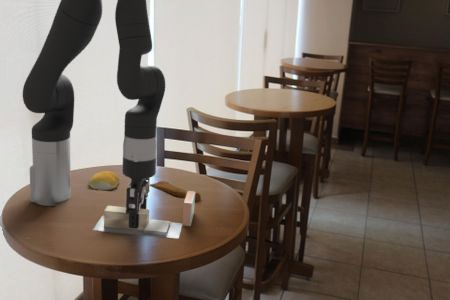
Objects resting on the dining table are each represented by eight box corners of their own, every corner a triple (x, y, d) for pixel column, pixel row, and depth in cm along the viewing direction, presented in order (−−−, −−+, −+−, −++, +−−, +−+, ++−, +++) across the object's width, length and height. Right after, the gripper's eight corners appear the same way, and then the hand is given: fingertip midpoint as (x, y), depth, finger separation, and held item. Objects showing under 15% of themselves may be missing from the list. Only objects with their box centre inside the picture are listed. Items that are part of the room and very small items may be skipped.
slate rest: (92, 234, 108) (92, 230, 107) (102, 219, 115) (102, 215, 115) (178, 242, 107) (178, 238, 107) (182, 227, 115) (182, 223, 115)
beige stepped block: (102, 229, 108) (102, 213, 107) (109, 218, 114) (109, 203, 113) (166, 235, 108) (167, 219, 107) (170, 224, 114) (171, 208, 113)
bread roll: (120, 181, 142) (121, 168, 141) (115, 192, 134) (115, 178, 133) (93, 179, 142) (93, 166, 141) (85, 190, 133) (86, 176, 132)
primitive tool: (148, 186, 141) (149, 175, 140) (162, 182, 145) (163, 172, 144) (192, 207, 128) (193, 195, 127) (206, 203, 132) (207, 191, 131)
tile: (182, 229, 114) (183, 202, 112) (186, 215, 122) (187, 190, 120) (190, 230, 114) (192, 203, 112) (193, 216, 122) (195, 191, 120)
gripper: (130, 144, 113) (129, 206, 118) (115, 162, 99) (114, 231, 104) (161, 147, 113) (158, 209, 117) (150, 165, 99) (147, 234, 104)
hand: (137, 219), depth 111 cm, fingers open, 8 cm apart
